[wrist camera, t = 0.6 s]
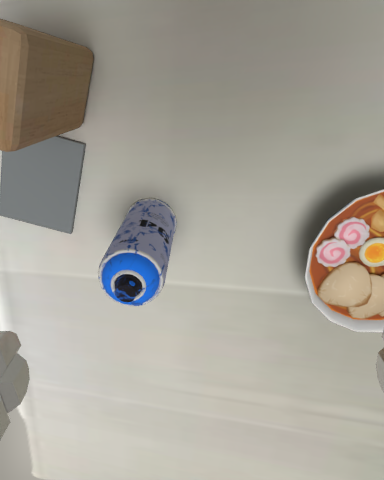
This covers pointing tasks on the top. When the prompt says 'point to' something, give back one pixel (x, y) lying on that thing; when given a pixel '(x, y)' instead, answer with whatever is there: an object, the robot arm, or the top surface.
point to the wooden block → (40, 85)
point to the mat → (42, 183)
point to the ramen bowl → (350, 266)
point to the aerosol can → (139, 254)
